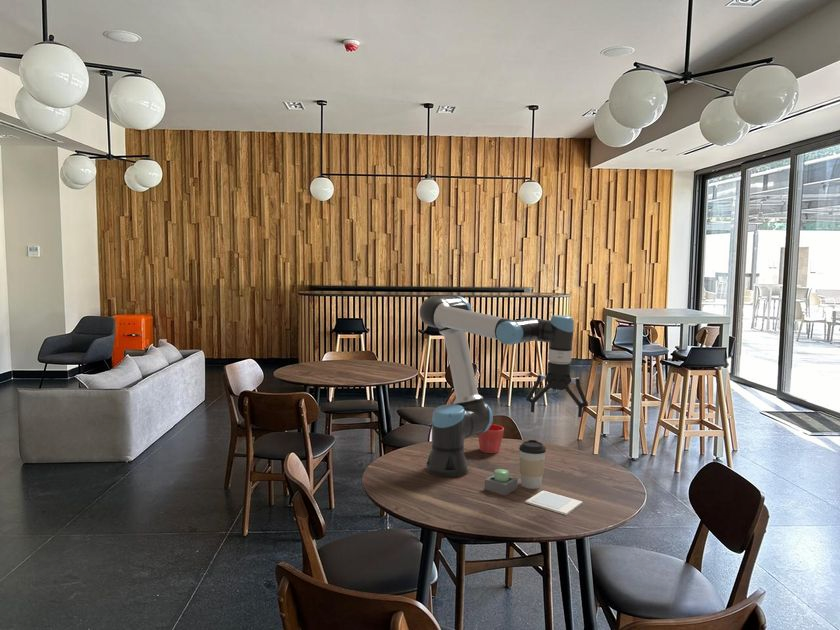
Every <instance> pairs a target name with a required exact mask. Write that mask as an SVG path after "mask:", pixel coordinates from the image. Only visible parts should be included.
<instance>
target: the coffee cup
mask: <svg viewBox="0 0 840 630" xmlns="http://www.w3.org/2000/svg"><path fill="white" fill-rule="evenodd" d="M518 449H519V473H520V486H521V487H522V488H526V489H531V490H536V489H538V490H539V489H541V488H542V481H543V475H544V471H545V470H544V469H545V463H546V462H545V461H546V457H545V456H546V452H547V451H546V449H547V447H546V446H544V445H543V443H542V442H539V441H537V440H536V439H535V440H534V439H528V440H527V441H523V442H522V443H521V444H519V448H518Z"/></svg>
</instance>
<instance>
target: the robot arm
mask: <svg viewBox="0 0 840 630" xmlns="http://www.w3.org/2000/svg"><path fill="white" fill-rule="evenodd" d="M419 317H420V319H421V321H422V322H423V323H424V325H426V326H428V327H431V328H435V329H438V332H439V334H440V335H442V336H443V337H444V342H445V348H446V353H447V358H448V362H449V364H448V365H449V367H450V375H451V379H452V383H453V389H454V395H455V399H454V401H453V402H452V403H448V404H442V405H439V406H437V407H436V408H434V410H433V412H432V419H431V450H430V453H429V456H428V458H427V461H426V466H425V468H426V469H425V470H426V472H427V473H428V474H430V475H431V476H435V477H438V478H439V477H440V478H459V477H462V476H465V475H466V474H467V473H468V472H469V471H468V468H469V466H468V463H467V458H466V455H465V452H464V445H465V442H464V441H465V439H468V438H471V437H474V436H478V435H480V434H482V433H483V432H485V431H487V430H488V429H489V428H490V426H491V424H493V421H494V420H493V417H494V415H493V411H492V408H491V406H489V405H488V403H486V402H485V401H484V397H483V395H481V394H479V391H478V386H477V382H476V376H475V372H474V371H475V370H474V366H473V362H472V361H473V360H472V357H471V350H470V347H469V341H468V337H467V333H470V334H473V335H478V336H481V337H485V338H490V339H494V340H497V341H499V343H501V344H503V345H512V346H513V345H517V344H522V343H528V342H536V341H537V342H544V343H548V358H547V359H548V362H547V369H546V371H547V372H546V375H542V374H541V373H538V374H537V377H536V380H535V382H534V384H533V385H532V387H531V389H530V390H529V392H528V394H527V395H526V398H525V400H526V401H527V402H530V412H531V413H533V424H536V423H537V412H538V411H537V410H538V409H537V408H538V402H537V401H538V400H539V399H540V398H541V397H542V396H544V395H545V394H546V392H548V391H550V389H552V390H554V391H555V390H559V391H564V390H565V392H567V393H568V395H569V396H570V398H571V399H572V400H573V402H574V403H575V404H576V405H577V406H575V415H574V418H575V419H574V427H575V428H578V424H579V423H578V420H579V418H582V416H583V415H582V414H583V408H586V407H588V406H589V403H588V400H587V397H586V396H585V393H584V391H583V389H582V385H581V382H580V377H579V376H577V377H571V367H572V364H571V362H572V355H573V354H572V353H573V339H574V332H575V330H574V328H575V327H574V326H575V325H574V324H575V323H574V318H573V317H572V316H568V315H563V314H561V315H560V314H559V315H558V314H555V315H552V316H551V317H550V320H548V319H540V318H534V317H522V318H520V319H518V320H516V319H515V320H514V319H510V318H504V317H501V316H496V315H491V314H488V313H487V314H486V313H481V312H477V311H473V310H472V306H471V304H470V302H469V301H468V300H467V299H466V298H465V297H463V296H461V295H460V296H459V295H454V294H453V295H452V294H451V295H440V296H439V295H434V296H429V297H427V298H425V300H424V301H423V302H422V303H421V304H420V308H419ZM544 380H545V381H546V383H547V384H546V385H545V386H544V387H542V389H541V390H539V391H538V393H537V394H535V392H536V390H537V389H538V387H539V386H540V384H541V382H543V381H544ZM571 383H573V385H575V387H576V389H577V391H578V394H579V396H580V398H581V400H582V401H581V400H579V398H578V396H577V395H576V393H574V391H573V390H572V389H571V387H570V386H569V385H570V384H571ZM534 394H535V396H533V395H534Z"/></svg>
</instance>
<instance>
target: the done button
mask: <svg viewBox="0 0 840 630" xmlns="http://www.w3.org/2000/svg"><path fill="white" fill-rule="evenodd" d="M493 475H494V481H498V482H501V483H506V482H508V481H509V476H510V471H509V470H508V469H503V468H497V469H494V471H493Z"/></svg>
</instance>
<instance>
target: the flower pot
mask: <svg viewBox="0 0 840 630" xmlns="http://www.w3.org/2000/svg"><path fill="white" fill-rule="evenodd" d="M504 432H505V428H504V427H503V426H502V425H499V424H494V423H492V424H491V426H490V428H489V429H488V430H487V431H485V432H483V433H482V434H480V435H477V436H478V439H477V440H478V445H479V450H480V452H483V453H486V454H496V453H499V452H500V449H501V445H502V441H503V437H504Z"/></svg>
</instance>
